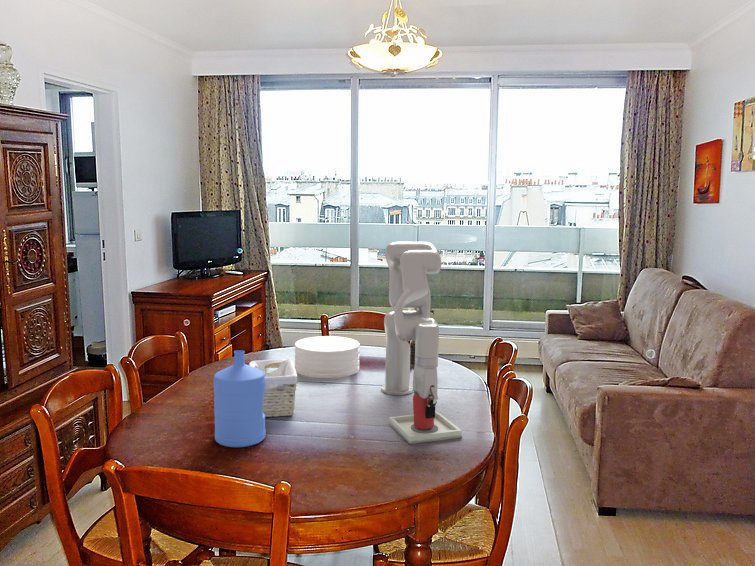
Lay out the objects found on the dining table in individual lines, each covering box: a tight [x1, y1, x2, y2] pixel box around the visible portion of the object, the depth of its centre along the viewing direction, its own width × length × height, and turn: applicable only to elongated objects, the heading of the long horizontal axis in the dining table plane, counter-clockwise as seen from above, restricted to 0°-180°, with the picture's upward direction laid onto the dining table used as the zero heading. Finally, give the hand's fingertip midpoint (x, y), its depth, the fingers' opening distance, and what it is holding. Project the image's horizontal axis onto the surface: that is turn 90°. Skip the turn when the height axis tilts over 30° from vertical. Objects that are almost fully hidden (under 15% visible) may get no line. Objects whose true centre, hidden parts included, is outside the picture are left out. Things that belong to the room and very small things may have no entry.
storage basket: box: [248, 358, 298, 418], centre depth 231 cm, size 24×16×15 cm
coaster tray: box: [388, 411, 463, 445], centre depth 212 cm, size 18×18×2 cm
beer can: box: [412, 391, 434, 430], centre depth 211 cm, size 7×7×12 cm
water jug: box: [213, 349, 267, 448], centre depth 201 cm, size 16×16×28 cm
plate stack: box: [294, 335, 361, 379], centre depth 281 cm, size 28×28×12 cm
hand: (424, 413), depth 211 cm, fingers open, 7 cm apart
